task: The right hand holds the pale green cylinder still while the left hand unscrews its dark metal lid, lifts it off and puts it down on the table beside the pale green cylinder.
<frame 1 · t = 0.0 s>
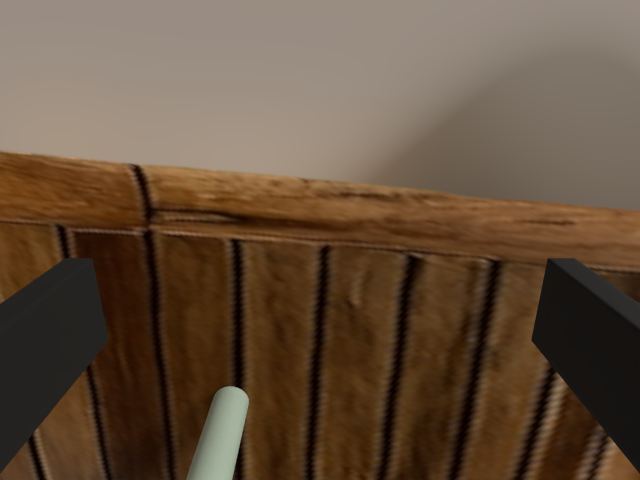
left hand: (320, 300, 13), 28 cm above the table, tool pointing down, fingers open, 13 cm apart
pale green cylinder: (231, 400, 49), on the table
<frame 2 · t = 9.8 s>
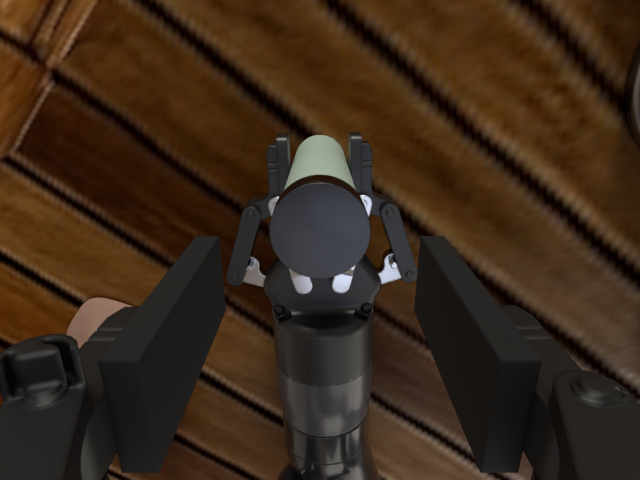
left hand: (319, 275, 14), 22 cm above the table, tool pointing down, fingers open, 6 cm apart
right hand: (318, 135, 28), fingers closed on pale green cylinder, 4 cm apart
anatomical model: (127, 359, 42), on the table
lid: (320, 230, 18), point 17 cm above the table, screwed on, not yet turned
pale green cylinder: (319, 160, 35), on the table, touching right hand
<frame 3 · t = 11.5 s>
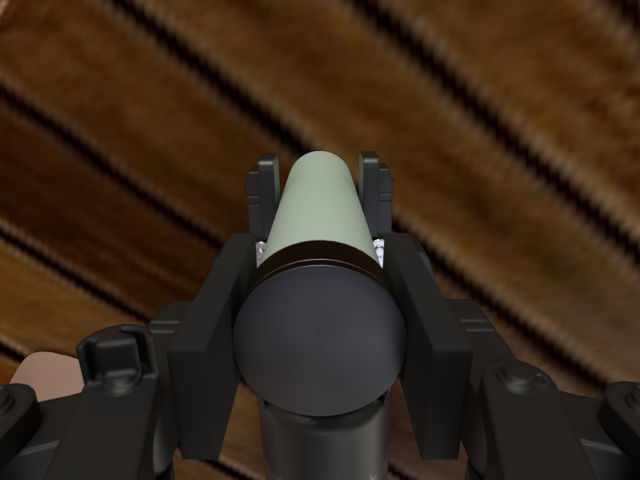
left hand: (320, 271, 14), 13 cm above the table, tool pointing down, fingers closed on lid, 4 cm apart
anatomical model: (83, 423, 34), on the table
lid: (319, 338, 11), point 17 cm above the table, screwed on, not yet turned, touching left hand
pale green cylinder: (320, 182, 27), on the table, touching right hand
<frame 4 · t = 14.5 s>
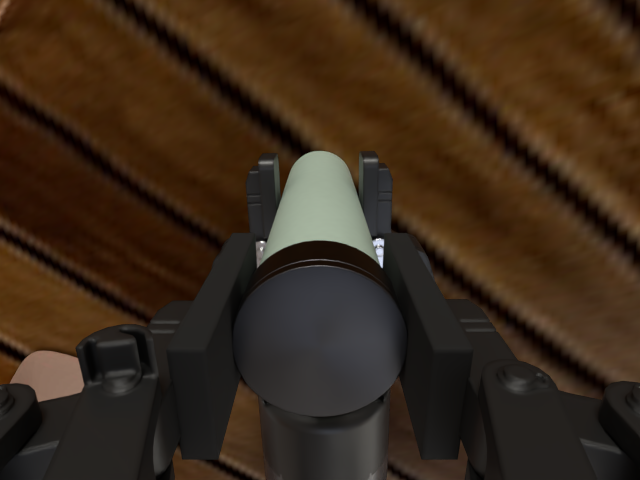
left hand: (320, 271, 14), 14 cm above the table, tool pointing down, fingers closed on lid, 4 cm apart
anatomical model: (83, 421, 34), on the table
lid: (319, 338, 11), point 18 cm above the table, turned 81° so far, risen 0.1 cm, still on its thread, touching left hand
pale green cylinder: (319, 182, 27), on the table, touching right hand
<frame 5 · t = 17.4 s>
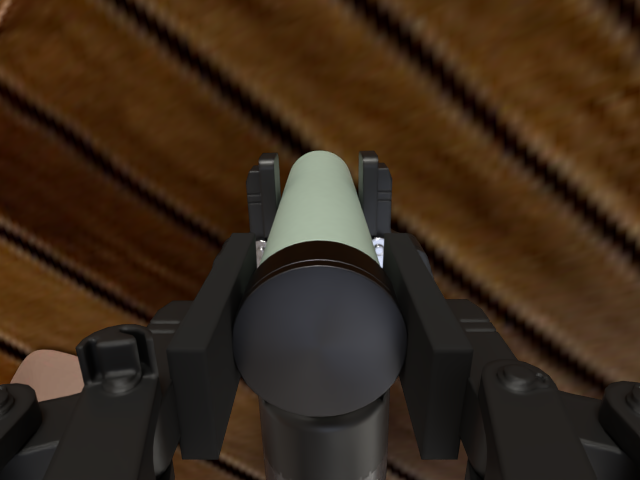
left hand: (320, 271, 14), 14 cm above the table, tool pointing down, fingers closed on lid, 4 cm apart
anatomical model: (84, 420, 34), on the table
lid: (319, 338, 11), point 18 cm above the table, turned 161° so far, risen 0.2 cm, still on its thread, touching left hand
pale green cylinder: (319, 182, 27), on the table, touching right hand
when the left hand's fingers open (0 cm above the table, at t = 32.7 s): lid drops 3 cm, point 1 cm above the table.
when the right hand's fingers open (7 cm above the table, at t = 33.3 s): pale green cylinder stays where it is, on the table.
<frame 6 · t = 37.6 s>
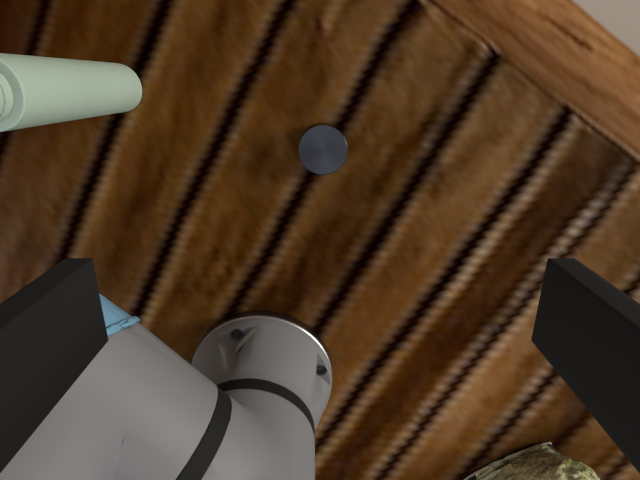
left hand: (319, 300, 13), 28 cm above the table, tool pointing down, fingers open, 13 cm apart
lid: (322, 149, 38), point 1 cm above the table, off its thread
pale green cylinder: (119, 87, 37), on the table
fossil: (505, 477, 53), on the table
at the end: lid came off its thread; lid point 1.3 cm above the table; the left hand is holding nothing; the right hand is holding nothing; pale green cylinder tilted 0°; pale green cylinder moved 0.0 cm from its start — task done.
